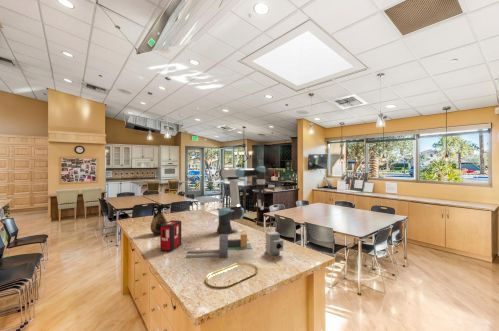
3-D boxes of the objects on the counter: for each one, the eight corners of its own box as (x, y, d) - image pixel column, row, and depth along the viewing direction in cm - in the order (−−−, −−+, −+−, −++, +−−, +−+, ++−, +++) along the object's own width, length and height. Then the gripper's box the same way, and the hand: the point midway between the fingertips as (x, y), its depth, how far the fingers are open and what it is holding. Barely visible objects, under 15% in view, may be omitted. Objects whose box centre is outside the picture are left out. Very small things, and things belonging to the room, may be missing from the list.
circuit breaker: (275, 258, 163) (275, 237, 163) (265, 251, 175) (265, 232, 175) (284, 256, 166) (284, 235, 166) (273, 250, 179) (273, 230, 179)
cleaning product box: (171, 244, 192) (171, 220, 192) (181, 244, 190) (181, 220, 190) (160, 251, 176) (160, 225, 176) (170, 252, 174) (171, 225, 174)
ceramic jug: (167, 231, 229) (168, 201, 229) (167, 235, 214) (167, 203, 214) (149, 232, 223) (149, 202, 223) (147, 237, 209) (147, 204, 209)
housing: (188, 251, 176) (188, 235, 176) (227, 249, 179) (227, 233, 179) (185, 259, 161) (185, 241, 161) (227, 257, 164) (227, 240, 164)
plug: (223, 245, 188) (223, 233, 188) (248, 244, 190) (248, 232, 189) (223, 247, 183) (223, 235, 183) (248, 246, 185) (248, 234, 185)
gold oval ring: (199, 280, 133) (199, 277, 133) (243, 262, 157) (243, 260, 157) (218, 293, 119) (218, 290, 119) (263, 271, 143) (263, 269, 143)
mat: (226, 244, 191) (226, 243, 191) (250, 243, 193) (250, 243, 193) (226, 249, 179) (226, 249, 179) (251, 248, 181) (251, 248, 181)
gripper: (255, 182, 212) (254, 205, 212) (258, 185, 187) (258, 211, 187) (262, 182, 213) (262, 205, 213) (267, 185, 188) (267, 210, 188)
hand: (260, 208), depth 200 cm, fingers open, 13 cm apart
